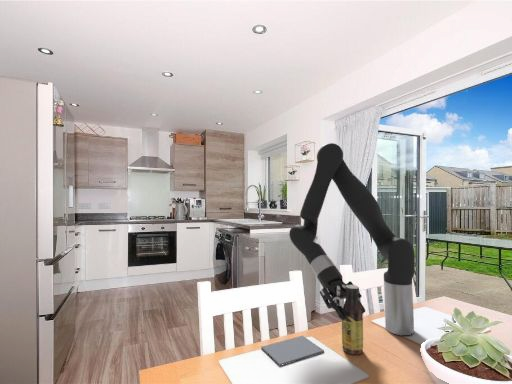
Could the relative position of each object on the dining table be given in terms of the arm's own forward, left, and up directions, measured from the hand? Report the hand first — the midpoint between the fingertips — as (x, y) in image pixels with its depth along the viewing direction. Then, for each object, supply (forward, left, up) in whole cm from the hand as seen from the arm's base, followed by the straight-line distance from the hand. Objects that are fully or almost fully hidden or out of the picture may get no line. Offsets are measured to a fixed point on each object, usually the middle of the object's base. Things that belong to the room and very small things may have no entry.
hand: (354, 315), depth 85 cm
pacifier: (-30, +29, -11) cm, 43 cm away
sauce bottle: (0, -1, -11) cm, 11 cm away
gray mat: (+8, -18, -11) cm, 22 cm away
